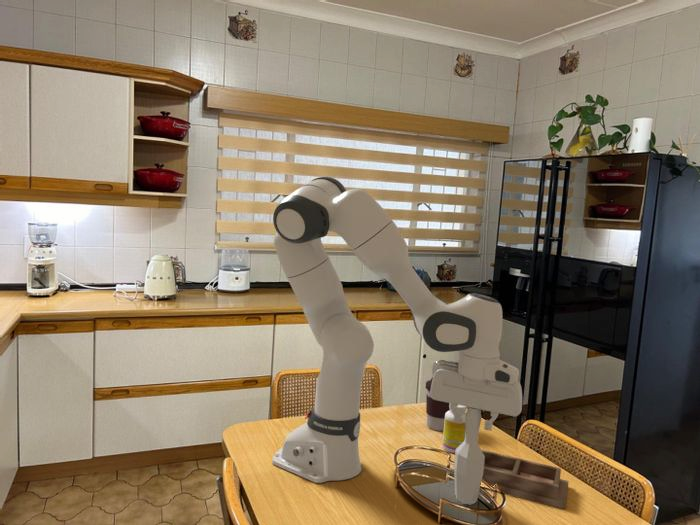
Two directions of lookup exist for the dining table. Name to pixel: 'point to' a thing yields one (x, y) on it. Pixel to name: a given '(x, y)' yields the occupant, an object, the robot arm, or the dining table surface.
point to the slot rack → (526, 479)
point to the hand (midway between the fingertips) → (472, 425)
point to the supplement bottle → (454, 430)
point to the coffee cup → (435, 410)
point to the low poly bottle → (469, 460)
